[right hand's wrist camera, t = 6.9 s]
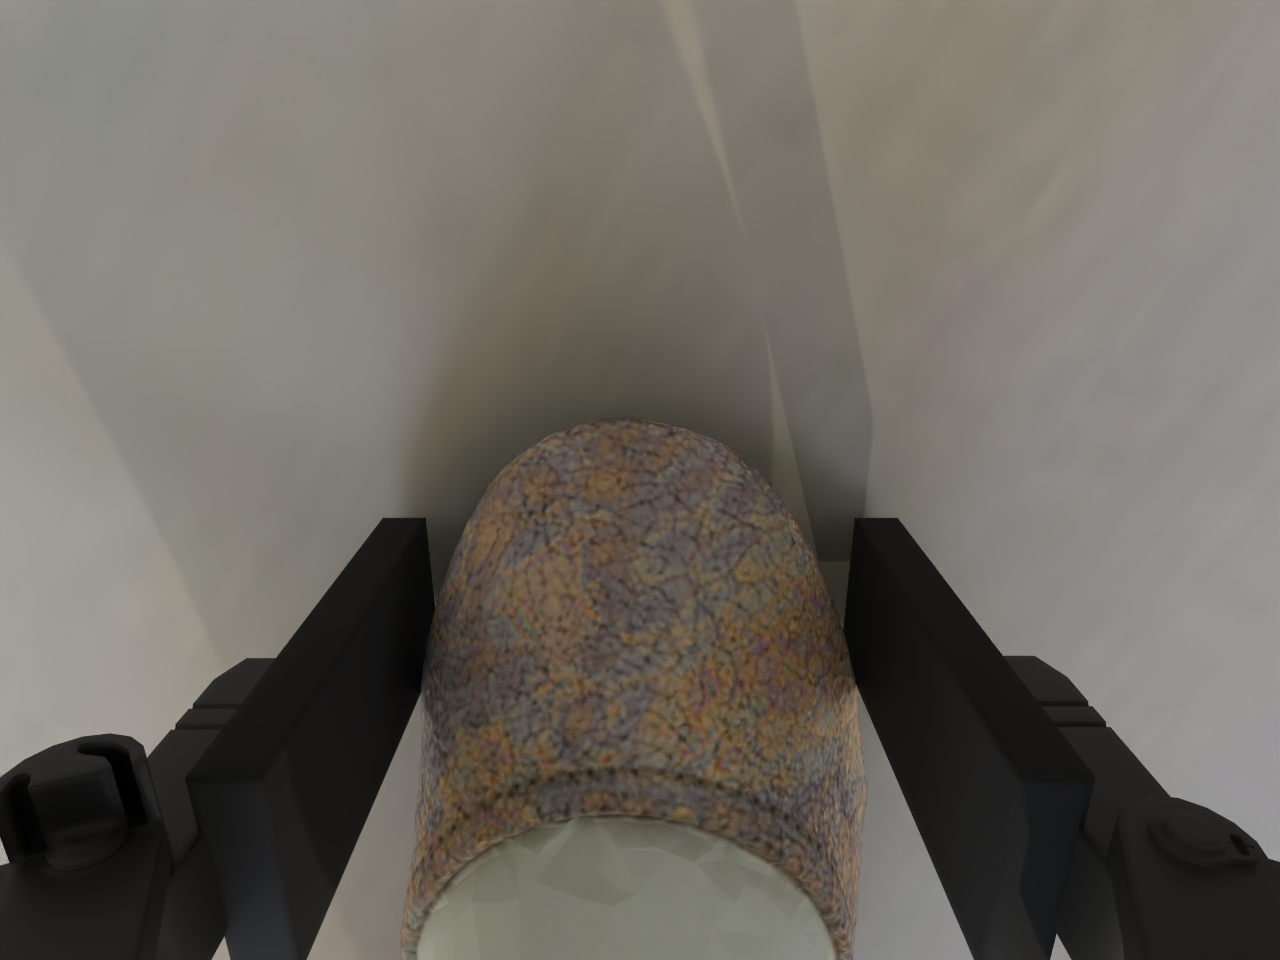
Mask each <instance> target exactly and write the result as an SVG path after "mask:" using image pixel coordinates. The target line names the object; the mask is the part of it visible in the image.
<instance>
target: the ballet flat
mask: <svg viewBox="0 0 1280 960" xmlns="http://www.w3.org/2000/svg"><path fill="white" fill-rule="evenodd" d="M857 707H858V701H857V691H856V684H855V677H854V673H853V669H852V665H851V661H850V656H849V651H848V646H847V641H846V637H845V635H844V632H843V629H842V627H841V626H840V621H839V616H838V613H837V612H836V610H835V607H834V603H833V600H832V599H831V598H830V595H829V592H828V588H827V585H826V582H825V580H824V577H823V575H822V572H821V570H820V568H819V567H818V565H817V561H816V557H815V554H814V552H813V550H812V549H811V547H810V545H809V544H808V542H807V540H806V538H805V537H804V535H803V533H802V531H801V529H800V528H799V526H798V524H797V523H796V521H795V520H794V518H793V517H792V515H791V513H790V512H789V510H788V508H787V506H786V505H785V504H784V503H783V502H782V500H781V498H780V496H779V494H778V493H777V492H776V491H775V490H774V488H773V487H772V485H771V484H769V483H768V482H767V481H766V479H765V478H764V477H763V476H762V475H761V474H760V473H759V471H758V470H757V469H755V468H752V467H749V466H748V465H747V464H746V462H745V459H744V457H743V456H742V455H741V454H739V453H737V452H735V451H734V450H732V449H730V448H729V447H727V446H726V445H724V444H722V443H721V442H719V441H717V440H714V439H712V438H709V437H707V436H704V435H702V434H699V433H696V432H693V431H690V430H687V429H684V428H681V427H677V426H673V425H669V424H665V423H661V422H657V421H652V420H645V419H639V418H632V417H618V418H609V419H602V420H601V419H598V418H593V419H592V420H590V421H588V422H585V423H581V424H579V425H577V426H575V427H572V428H570V429H567V430H565V431H559V432H556V433H553V434H551V435H549V436H547V437H546V438H544V439H543V440H541V441H540V442H538V443H536V444H535V445H533V446H532V447H530V448H529V449H527V450H526V451H524V452H523V453H521V454H520V455H518V456H517V457H516V458H515V459H514V460H513V461H512V462H511V463H509V464H508V465H507V466H505V467H504V468H503V469H502V470H501V471H500V472H499V473H498V475H497V476H496V477H495V478H494V479H493V480H492V481H491V482H490V484H489V485H488V487H487V489H486V491H485V492H484V494H483V496H482V498H481V499H480V501H479V503H478V504H477V507H476V508H475V510H474V512H473V514H472V516H471V517H470V518H469V520H468V521H467V524H466V527H465V529H464V531H463V534H462V536H461V539H460V541H459V543H458V544H457V546H456V549H455V551H454V554H453V556H452V559H451V562H450V565H449V568H448V570H447V573H446V576H445V578H444V580H443V583H442V585H441V588H440V591H439V597H438V602H437V605H436V608H435V611H434V615H433V618H432V623H431V627H430V631H429V636H428V640H427V645H426V651H425V657H424V663H423V671H422V679H421V713H422V757H421V768H420V776H419V781H420V784H419V793H418V799H417V806H416V816H415V834H414V844H415V847H414V853H413V859H412V865H411V867H410V875H409V882H408V888H407V893H406V901H405V916H404V921H403V926H402V931H401V956H402V960H853V944H854V939H855V925H856V908H857V894H858V879H859V874H860V850H861V842H862V831H863V823H864V812H865V807H866V805H867V800H866V778H865V770H864V762H863V753H862V749H861V739H860V730H859V716H858V712H857Z"/></svg>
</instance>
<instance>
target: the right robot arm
mask: <svg viewBox="0 0 1280 960" xmlns="http://www.w3.org/2000/svg"><path fill="white" fill-rule="evenodd" d="M434 611H435V604H434V594H433V585H432V575H431V566H430V556H429V546H428V537H427V527H426V518H383V519H382V520H381V521H380V523H379V524H378V525H377V527H376V528H375V529H374V530H373V532H372V533H371V534H370V536H369V537H368V538H367V540H366V541H365V542H364V544H363V545H362V546H361V548H360V549H359V550H358V551H357V553H356V554H355V555H354V557H353V558H352V559H351V561H350V562H349V563H348V565H347V566H346V567H345V568H344V570H343V571H342V572H341V574H340V575H339V576H338V578H337V579H336V580H335V582H334V583H333V584H332V585H331V587H330V588H329V589H328V591H327V592H326V593H325V595H324V596H323V597H322V599H321V600H320V601H319V603H318V604H317V605H316V606H315V608H314V609H313V610H312V612H311V613H310V614H309V616H308V617H307V618H306V620H305V621H304V622H303V623H302V625H301V626H300V627H299V629H298V630H297V631H296V633H295V634H294V635H293V637H292V638H291V639H290V641H289V642H288V643H287V644H286V646H285V647H284V648H283V650H282V651H281V652H280V654H279V655H278V656H277V658H246V659H245V660H243V661H242V662H240V663H239V664H237V665H236V666H234V667H232V668H231V669H229V670H228V671H226V672H225V673H223V674H222V675H220V676H219V677H217V678H216V679H214V680H213V681H212V682H211V684H210V685H209V686H208V687H207V688H206V689H205V691H204V692H203V693H202V694H201V695H200V697H199V698H198V699H197V700H196V701H195V702H194V704H193V708H192V709H188V711H187V712H186V713H185V714H184V715H183V716H182V718H181V719H180V720H179V721H178V722H177V723H176V727H175V730H170V732H169V733H168V734H167V735H166V736H165V737H164V739H163V740H162V741H161V742H160V743H159V744H158V746H157V747H156V748H155V749H154V750H153V751H152V753H151V754H150V755H149V756H148V757H146V754H145V750H144V746H143V745H142V744H140V743H139V742H138V741H136V740H135V739H134V738H132V737H130V736H123V735H117V734H101V735H93V736H84V737H80V738H77V739H73V740H70V741H67V742H64V743H60V744H57V745H54V746H51V747H49V748H47V749H45V750H43V751H41V752H39V753H37V754H35V755H33V756H31V757H29V758H27V759H25V760H23V761H22V762H21V763H19V764H18V765H16V766H15V767H14V768H12V769H11V770H10V771H8V772H7V773H6V774H4V775H3V776H2V777H0V838H1V841H2V843H3V846H4V849H5V851H6V854H7V857H8V860H9V862H10V863H7V864H4V865H1V866H0V960H211V959H212V957H213V956H214V954H215V952H216V950H217V948H218V947H219V945H220V943H221V941H222V939H223V938H224V936H225V939H226V943H227V947H228V951H229V955H230V959H231V960H306V959H307V957H308V955H309V952H310V950H311V948H312V945H313V943H314V941H315V938H316V936H317V934H318V931H319V929H320V927H321V924H322V922H323V920H324V917H325V915H326V913H327V910H328V908H329V906H330V903H331V901H332V899H333V896H334V894H335V892H336V889H337V887H338V885H339V882H340V880H341V878H342V875H343V873H344V871H345V868H346V866H347V864H348V861H349V859H350V857H351V854H352V852H353V850H354V847H355V845H356V843H357V840H358V838H359V836H360V833H361V831H362V829H363V826H364V824H365V822H366V819H367V817H368V815H369V812H370V810H371V808H372V805H373V803H374V801H375V798H376V796H377V794H378V791H379V789H380V787H381V784H382V782H383V780H384V777H385V775H386V773H387V770H388V768H389V766H390V763H391V761H392V759H393V756H394V754H395V752H396V749H397V747H398V745H399V742H400V740H401V738H402V735H403V733H404V731H405V728H406V726H407V724H408V721H409V719H410V717H411V714H412V712H413V710H414V707H415V705H416V703H417V700H418V698H419V696H420V693H421V679H422V671H423V663H424V657H425V651H426V645H427V640H428V636H429V631H430V627H431V623H432V618H433V615H434ZM843 632H844V635H845V637H846V641H847V646H848V651H849V656H850V661H851V665H852V669H853V673H854V677H855V683H856V685H857V687H858V690H859V692H860V694H861V697H862V699H863V701H864V704H865V706H866V708H867V711H868V713H869V715H870V718H871V720H872V722H873V725H874V727H875V729H876V732H877V734H878V736H879V739H880V741H881V743H882V746H883V748H884V750H885V753H886V755H887V757H888V760H889V762H890V764H891V767H892V769H893V771H894V774H895V776H896V778H897V781H898V783H899V785H900V788H901V790H902V792H903V795H904V797H905V799H906V802H907V804H908V806H909V809H910V811H911V813H912V816H913V818H914V820H915V823H916V825H917V827H918V830H919V832H920V834H921V837H922V839H923V841H924V844H925V846H926V848H927V851H928V853H929V855H930V858H931V860H932V862H933V865H934V867H935V869H936V872H937V874H938V876H939V879H940V881H941V883H942V886H943V888H944V890H945V893H946V895H947V897H948V900H949V902H950V904H951V907H952V909H953V911H954V914H955V916H956V918H957V921H958V923H959V925H960V928H961V930H962V932H963V935H964V937H965V939H966V942H967V944H968V946H969V949H970V951H971V953H972V956H973V958H974V960H1050V957H1051V953H1052V949H1053V946H1054V942H1055V938H1056V934H1058V936H1059V938H1060V940H1061V942H1062V943H1063V945H1064V947H1065V949H1066V951H1067V952H1068V954H1069V956H1070V958H1071V960H1280V862H1278V861H1274V860H1271V859H1268V857H1267V856H1266V855H1265V853H1264V852H1263V850H1262V849H1261V847H1260V846H1259V844H1258V843H1257V842H1256V841H1255V840H1254V839H1253V838H1252V837H1250V836H1249V835H1248V834H1247V833H1246V832H1244V831H1243V830H1242V829H1241V828H1240V827H1239V826H1237V825H1236V824H1235V823H1233V822H1232V821H1230V820H1228V819H1226V818H1224V817H1223V816H1221V815H1219V814H1217V813H1215V812H1213V811H1212V810H1210V809H1208V808H1206V807H1203V806H1200V805H1197V804H1194V803H1191V802H1188V801H1185V800H1182V799H1179V798H1173V797H1170V796H1169V795H1168V794H1167V792H1166V791H1165V790H1164V789H1163V788H1162V787H1161V785H1160V784H1159V783H1158V782H1157V781H1156V780H1155V778H1154V777H1153V776H1152V775H1151V774H1150V773H1149V771H1148V770H1147V769H1146V768H1145V767H1144V766H1143V765H1142V763H1141V762H1140V761H1139V760H1138V759H1137V758H1136V756H1135V755H1134V754H1133V753H1132V752H1131V751H1130V749H1129V748H1128V747H1127V746H1126V745H1125V744H1124V742H1123V741H1122V740H1121V739H1120V738H1119V737H1118V735H1117V734H1116V733H1115V732H1114V731H1113V730H1112V729H1111V727H1106V722H1105V720H1104V719H1103V718H1102V717H1101V716H1100V715H1099V713H1098V712H1097V711H1096V710H1095V709H1094V708H1093V706H1089V705H1088V701H1087V699H1086V698H1085V697H1084V696H1083V695H1082V694H1081V693H1080V691H1079V690H1078V689H1077V688H1076V687H1075V686H1074V684H1073V683H1072V682H1071V681H1070V680H1069V679H1068V677H1066V676H1065V675H1063V674H1062V673H1060V672H1059V671H1057V670H1056V669H1054V668H1052V667H1051V666H1049V665H1048V664H1046V663H1045V662H1043V661H1042V660H1040V659H1039V658H1037V657H1036V656H1003V655H1002V654H1001V653H1000V651H999V650H998V649H997V648H996V646H995V645H994V644H993V642H992V641H991V640H990V638H989V637H988V636H987V634H986V633H985V632H984V631H983V629H982V628H981V627H980V625H979V624H978V623H977V621H976V620H975V619H974V617H973V616H972V615H971V614H970V612H969V611H968V610H967V608H966V607H965V606H964V604H963V603H962V602H961V600H960V599H959V598H958V597H957V595H956V594H955V593H954V591H953V590H952V589H951V587H950V586H949V585H948V583H947V582H946V581H945V579H944V578H943V577H942V576H941V574H940V573H939V572H938V570H937V569H936V568H935V566H934V565H933V564H932V562H931V561H930V560H929V559H928V557H927V556H926V555H925V553H924V552H923V551H922V549H921V548H920V547H919V545H918V544H917V543H916V542H915V540H914V539H913V538H912V536H911V535H910V534H909V532H908V531H907V530H906V528H905V527H904V526H903V524H902V523H901V522H900V521H899V519H898V518H855V523H854V533H853V542H852V552H851V561H850V571H849V581H848V590H847V600H846V609H845V619H844V629H843Z"/></svg>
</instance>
